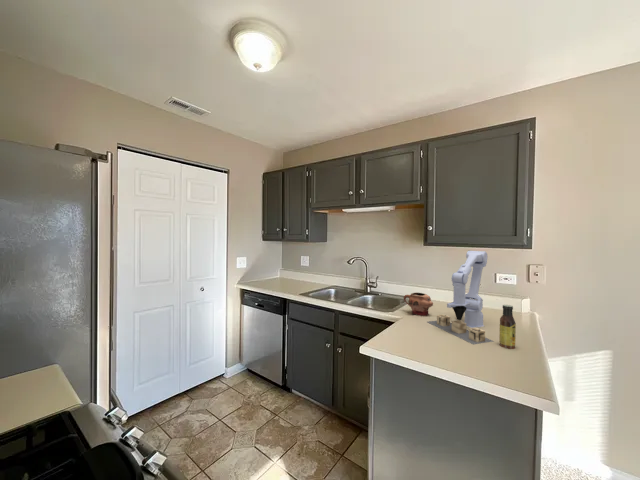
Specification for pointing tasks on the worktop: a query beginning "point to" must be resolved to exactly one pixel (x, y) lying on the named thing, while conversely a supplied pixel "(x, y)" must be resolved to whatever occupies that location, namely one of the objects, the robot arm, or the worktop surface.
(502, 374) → the worktop surface
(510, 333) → the sauce bottle
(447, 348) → the worktop surface
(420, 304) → the decorative planter
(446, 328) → the charcoal mat
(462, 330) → the plain maple block
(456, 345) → the worktop surface
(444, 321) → the maple block marked 1
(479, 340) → the maple block marked 7
